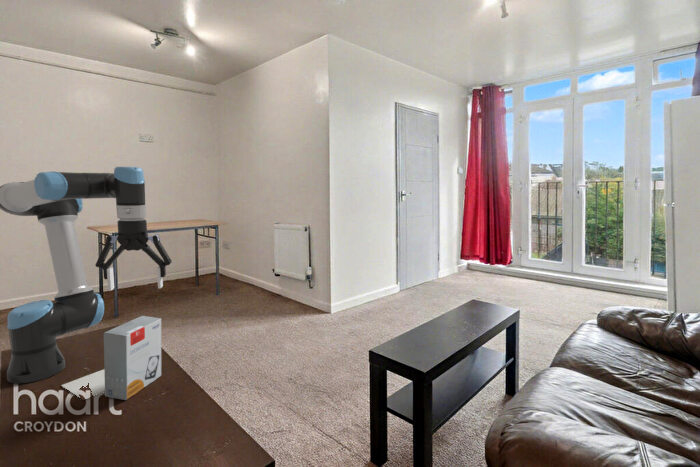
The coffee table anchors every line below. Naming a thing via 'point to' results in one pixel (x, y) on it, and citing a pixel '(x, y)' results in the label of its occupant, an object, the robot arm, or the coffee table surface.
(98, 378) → the mat
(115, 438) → the coffee table surface
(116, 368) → the hard drive box
